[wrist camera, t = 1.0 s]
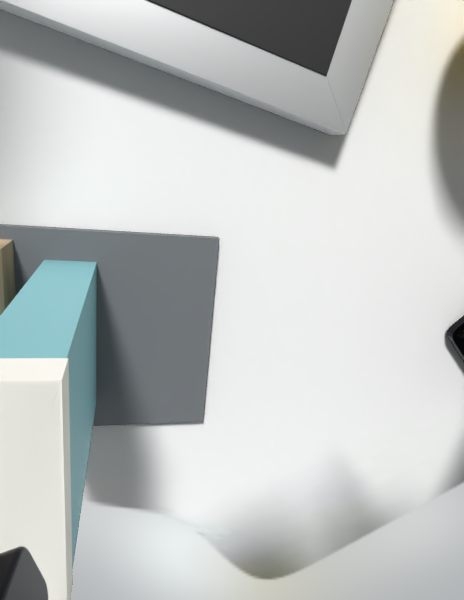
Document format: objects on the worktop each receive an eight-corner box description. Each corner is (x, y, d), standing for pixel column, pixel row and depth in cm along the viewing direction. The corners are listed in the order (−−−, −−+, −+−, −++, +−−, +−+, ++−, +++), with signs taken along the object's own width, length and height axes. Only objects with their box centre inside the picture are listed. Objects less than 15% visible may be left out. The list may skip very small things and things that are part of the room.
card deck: (97, 260, 18) (61, 379, 9) (97, 402, 20) (67, 620, 11) (42, 258, 18) (-57, 382, 8) (48, 403, 20) (-28, 633, 10)
